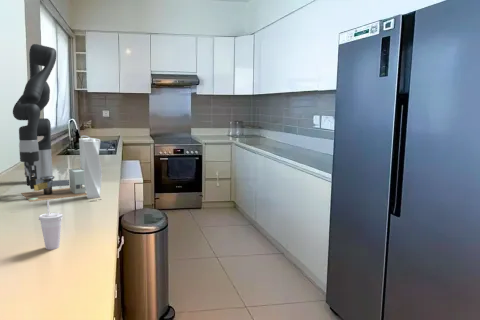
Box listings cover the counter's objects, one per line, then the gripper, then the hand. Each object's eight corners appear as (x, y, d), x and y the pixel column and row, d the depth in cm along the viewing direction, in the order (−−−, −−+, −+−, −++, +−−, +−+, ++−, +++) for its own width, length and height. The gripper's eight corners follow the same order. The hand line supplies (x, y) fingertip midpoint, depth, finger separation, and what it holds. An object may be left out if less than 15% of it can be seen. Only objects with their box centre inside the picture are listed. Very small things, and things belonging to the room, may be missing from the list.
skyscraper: (85, 202, 186) (82, 136, 182) (82, 198, 192) (79, 134, 188) (104, 200, 189) (101, 135, 185) (101, 196, 196) (98, 134, 192)
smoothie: (45, 244, 131) (42, 198, 129) (67, 243, 132) (64, 198, 130) (37, 251, 125) (34, 203, 123) (60, 250, 125) (57, 203, 124)
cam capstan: (18, 197, 187) (17, 180, 186) (37, 190, 201) (36, 174, 200) (55, 198, 186) (54, 181, 185) (71, 191, 200) (70, 175, 199)
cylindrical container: (100, 190, 209) (98, 138, 206) (89, 193, 203) (87, 139, 199) (89, 189, 212) (87, 137, 209) (78, 192, 206) (75, 139, 202)
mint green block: (33, 198, 187) (33, 197, 187) (38, 198, 186) (38, 197, 186) (28, 199, 184) (28, 199, 184) (33, 200, 183) (33, 199, 183)
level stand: (70, 190, 203) (69, 169, 202) (79, 189, 206) (78, 168, 204) (76, 194, 195) (75, 172, 194) (86, 193, 197) (85, 171, 196)
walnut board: (21, 195, 198) (20, 192, 198) (75, 189, 211) (75, 187, 211) (29, 204, 181) (29, 201, 181) (88, 197, 194) (88, 194, 194)
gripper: (16, 149, 193) (19, 185, 195) (22, 152, 181) (24, 191, 183) (35, 148, 197) (37, 183, 199) (41, 151, 185) (44, 189, 188)
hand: (31, 187), depth 191 cm, fingers open, 8 cm apart
